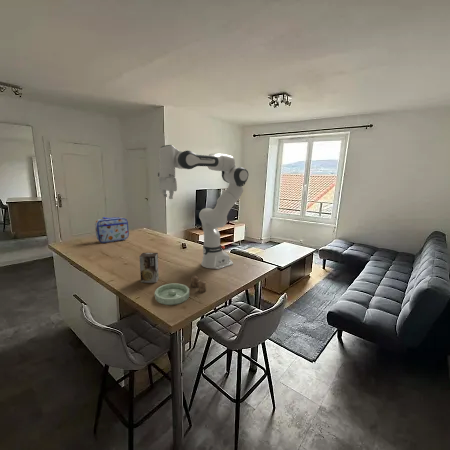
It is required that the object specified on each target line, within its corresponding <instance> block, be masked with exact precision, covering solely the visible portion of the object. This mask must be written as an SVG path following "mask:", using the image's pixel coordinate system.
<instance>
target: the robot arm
mask: <svg viewBox="0 0 450 450" xmlns="http://www.w3.org/2000/svg"><path fill="white" fill-rule="evenodd" d="M158 153H159V154H158V156H159V158H158V161H159V171H158V173H157V177H158V188H159V189H160V190H161V191H162V195H163V198H168V199H169V200H173V196H174V194H175V193H174V192H177V190H178V186H177V185H178V184H177V178H176V168H177V169H181V170H182V169H184V170H192V169H195V168H196V167H207V168H208V169H209V170H211V171H217V172H221V178H222V180H223V181H224V182H226V183H228V186H227V188H226V189H225V190H224V191H223V192H222V193H221V194H220V196H219V197H218V198H217V200H216V204H215V206H214V208H211V207H207V208H206V207H204V208H202V209H201V210H200V212H199V214H198V218H199V219H200V222H201V227H202V231H203V245H202V248H203V249H202V254H203V256H202V260H201V264H200V265H201V266H202V267H203V268H205V269H206V268H207V269H215V270H219V269H222V268H226V267H229V266H232V265H233V264H234V262H233V261H232V260H231V257H230V255H229V254H228V253H227V252H226V251H224V250H225V248H226V247H225V245H221V234H220V230H219V228H223V227H225V226H226V224H227V222H228V215H229V212H230V210H231V209H232V208H233V206H235V204H236V203H237V202H238V200H239V199H240V198H241V196H242V195H243V192H244V186H245V184H246V183H247V182H248V179H249V171H248V170H247V168H245V167H242V166H236V160H235V157H234V156H232V155H230V154H226V153H219V152H215V153H210V154H207V155H205V154H203V155H202V154H198V153H195V152H194V151H192V150H183V151H181V150H179V149H178V148H176V147H175V146H174V145H173V144H167V145H166V144H165V145H162V146H160V148H159V152H158ZM167 192H169V194H168V193H167Z"/></svg>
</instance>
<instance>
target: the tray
mask: <svg viewBox="0 0 450 450" xmlns="http://www.w3.org/2000/svg"><path fill="white" fill-rule="evenodd" d="M190 291H191V289H190V288H189V286H187V285H186V284H182V283H178V282H177V283H175V282H174V283H166V284H162V285H161V286H159V287H157V288H156V289H155V291H154V298H155V301H156V302H157V303H159V304H161V305H166V306H174V305H180V304H182V303H185V302H187V300H188V299H189V297H190Z"/></svg>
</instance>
